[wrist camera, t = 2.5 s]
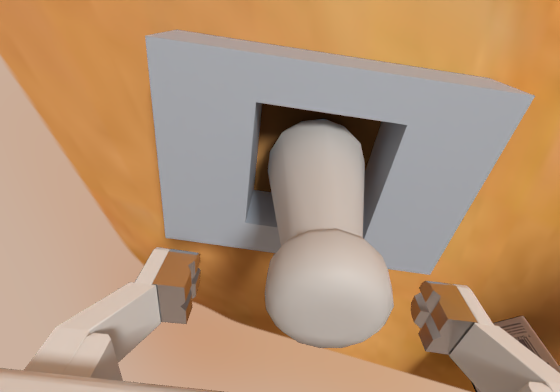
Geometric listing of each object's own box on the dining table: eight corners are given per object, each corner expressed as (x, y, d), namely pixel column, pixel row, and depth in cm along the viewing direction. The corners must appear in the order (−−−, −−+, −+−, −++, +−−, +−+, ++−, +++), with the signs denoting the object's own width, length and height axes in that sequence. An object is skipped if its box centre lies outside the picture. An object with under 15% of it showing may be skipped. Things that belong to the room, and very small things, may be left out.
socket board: (488, 78, 17) (534, 95, 14) (411, 236, 24) (429, 274, 20) (176, 29, 17) (145, 35, 13) (185, 204, 23) (165, 237, 20)
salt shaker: (259, 123, 19) (204, 276, 8) (346, 94, 18) (416, 231, 7) (287, 195, 22) (275, 379, 11) (364, 175, 21) (434, 360, 10)
